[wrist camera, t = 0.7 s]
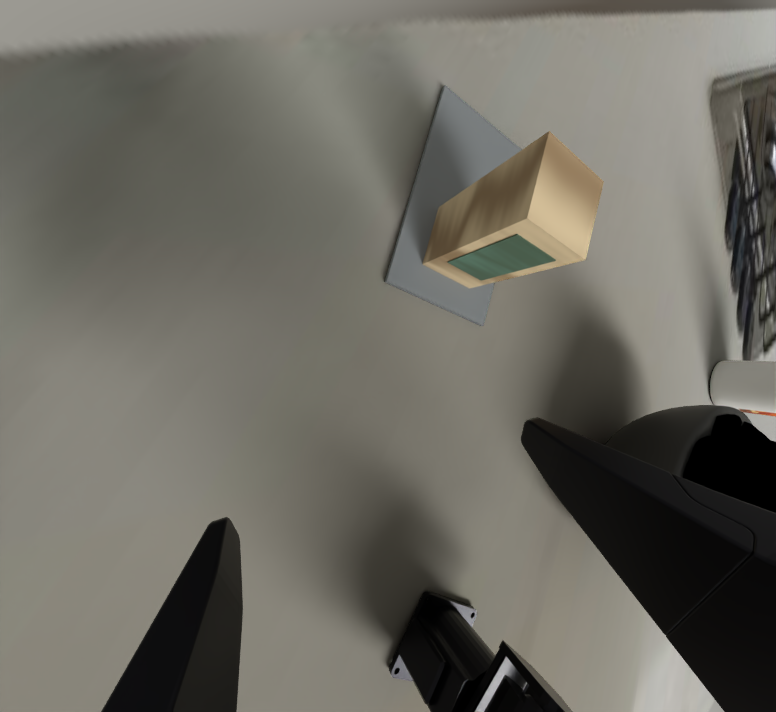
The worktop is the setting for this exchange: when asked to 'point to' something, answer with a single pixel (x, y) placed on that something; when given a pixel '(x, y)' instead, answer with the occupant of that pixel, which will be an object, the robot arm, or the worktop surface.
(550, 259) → the letter block
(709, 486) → the coal bowl
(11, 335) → the worktop surface
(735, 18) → the worktop surface
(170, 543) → the worktop surface
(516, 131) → the worktop surface
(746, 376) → the milk bottle
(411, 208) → the slate mat
